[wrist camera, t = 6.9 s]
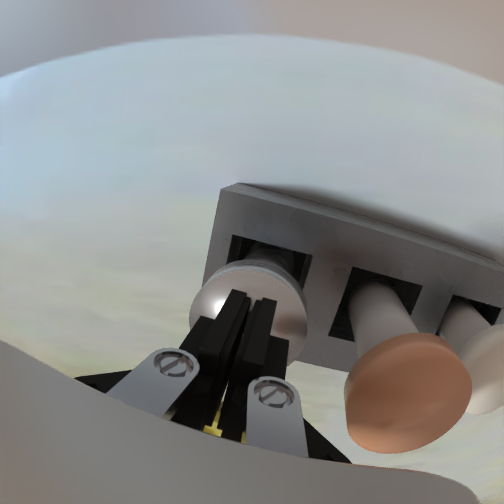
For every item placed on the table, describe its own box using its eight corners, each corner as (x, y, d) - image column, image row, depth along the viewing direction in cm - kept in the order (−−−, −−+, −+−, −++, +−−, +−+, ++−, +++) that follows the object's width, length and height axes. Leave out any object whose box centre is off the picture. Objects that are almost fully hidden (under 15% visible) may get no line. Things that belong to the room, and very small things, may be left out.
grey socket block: (494, 260, 17) (525, 280, 14) (450, 358, 20) (468, 391, 16) (237, 182, 19) (220, 189, 15) (212, 302, 21) (194, 331, 18)
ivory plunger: (478, 282, 18) (546, 345, 10) (453, 338, 19) (502, 415, 11) (428, 266, 18) (490, 332, 10) (403, 327, 20) (443, 412, 12)
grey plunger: (316, 234, 19) (323, 291, 11) (296, 300, 20) (287, 387, 12) (243, 215, 19) (198, 258, 11) (229, 282, 21) (182, 357, 13)
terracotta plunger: (421, 276, 16) (494, 366, 8) (392, 344, 17) (430, 455, 9) (347, 255, 16) (381, 345, 8) (322, 328, 17) (326, 446, 9)
